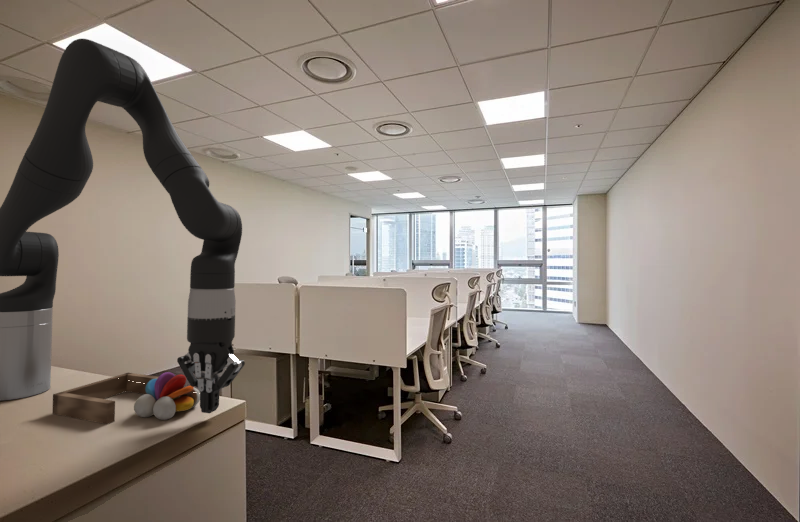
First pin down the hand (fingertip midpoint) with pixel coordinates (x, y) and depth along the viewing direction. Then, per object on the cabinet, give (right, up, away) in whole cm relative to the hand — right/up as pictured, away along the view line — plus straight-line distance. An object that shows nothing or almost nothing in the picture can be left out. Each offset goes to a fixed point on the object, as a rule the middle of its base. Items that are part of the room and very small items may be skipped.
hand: (209, 411), depth 64 cm
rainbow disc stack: (-9, -2, +3) cm, 10 cm away
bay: (-20, -1, +6) cm, 21 cm away
